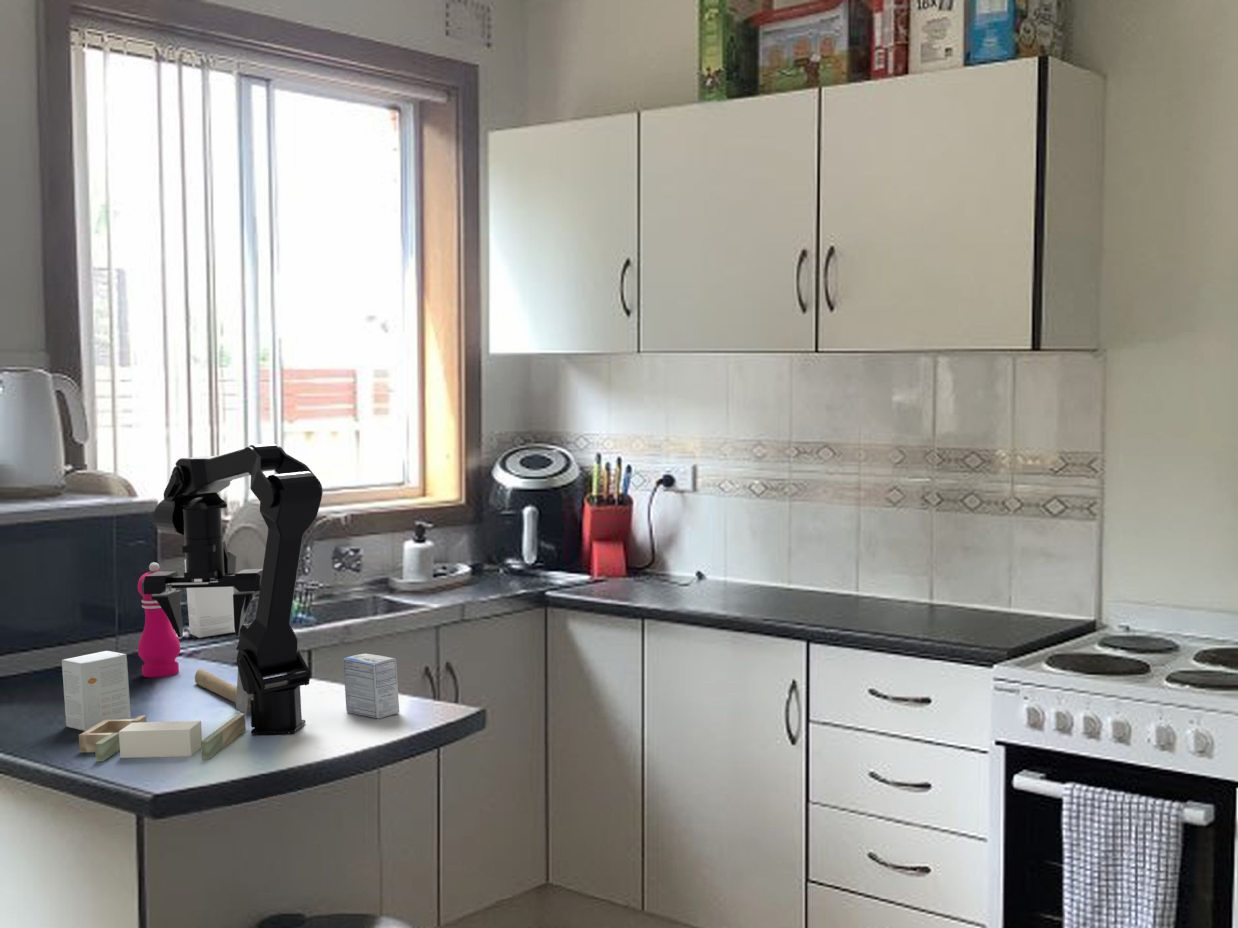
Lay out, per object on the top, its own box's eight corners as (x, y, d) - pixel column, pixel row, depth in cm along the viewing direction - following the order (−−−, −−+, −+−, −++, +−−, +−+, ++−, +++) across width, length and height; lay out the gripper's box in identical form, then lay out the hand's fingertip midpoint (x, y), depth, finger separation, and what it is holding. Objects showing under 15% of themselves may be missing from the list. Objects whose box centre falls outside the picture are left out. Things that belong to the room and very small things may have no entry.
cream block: (202, 748, 212) (201, 720, 212) (191, 757, 207) (189, 729, 207) (133, 749, 213) (131, 722, 212) (120, 759, 208) (118, 731, 207)
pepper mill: (174, 677, 261) (167, 564, 260) (133, 678, 261) (126, 565, 260) (187, 668, 268) (180, 558, 267) (147, 670, 268) (140, 560, 267)
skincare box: (227, 628, 309) (223, 554, 308) (238, 633, 303) (233, 557, 302) (187, 634, 304) (183, 558, 303) (197, 638, 299) (192, 561, 298)
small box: (111, 716, 233) (107, 649, 233) (132, 720, 230) (127, 653, 229) (64, 726, 227) (60, 658, 226) (84, 731, 224) (80, 662, 223)
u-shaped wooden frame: (245, 729, 221) (244, 713, 221) (208, 759, 205) (207, 741, 205) (111, 732, 222) (110, 716, 222) (64, 761, 206) (63, 744, 206)
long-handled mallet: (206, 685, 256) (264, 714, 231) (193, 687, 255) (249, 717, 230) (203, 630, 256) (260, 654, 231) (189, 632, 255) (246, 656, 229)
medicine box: (400, 713, 228) (397, 657, 227) (377, 719, 224) (374, 663, 224) (368, 707, 233) (365, 652, 232) (345, 712, 230) (342, 657, 229)
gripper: (277, 529, 239) (283, 625, 240) (164, 532, 240) (170, 628, 241) (256, 537, 228) (261, 638, 229) (137, 541, 229) (143, 641, 230)
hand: (209, 636), depth 233 cm, fingers open, 9 cm apart
